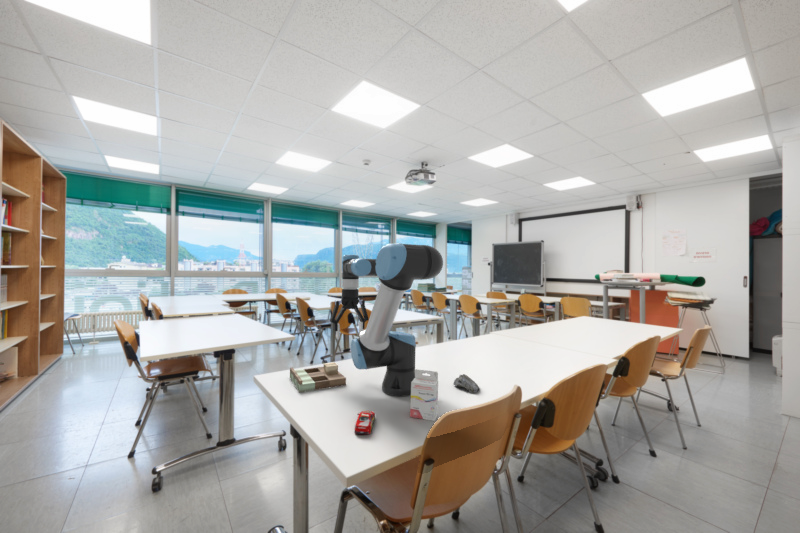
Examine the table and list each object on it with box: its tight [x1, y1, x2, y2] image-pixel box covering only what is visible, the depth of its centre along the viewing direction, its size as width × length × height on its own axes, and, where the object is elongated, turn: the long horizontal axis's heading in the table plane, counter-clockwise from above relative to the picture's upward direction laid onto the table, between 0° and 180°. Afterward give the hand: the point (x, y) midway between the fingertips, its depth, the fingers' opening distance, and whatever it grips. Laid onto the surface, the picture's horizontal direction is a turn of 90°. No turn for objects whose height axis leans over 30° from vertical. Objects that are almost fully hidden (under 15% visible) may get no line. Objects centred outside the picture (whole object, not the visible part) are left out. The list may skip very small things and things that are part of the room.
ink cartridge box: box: [409, 368, 439, 422], centre depth 109 cm, size 9×5×15 cm, turn 73°
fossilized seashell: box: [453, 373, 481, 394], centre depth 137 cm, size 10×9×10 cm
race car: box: [354, 410, 376, 435], centre depth 102 cm, size 13×5×4 cm, turn 177°
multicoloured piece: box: [289, 366, 347, 393], centre depth 142 cm, size 20×19×4 cm
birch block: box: [323, 362, 339, 375], centre depth 145 cm, size 5×5×4 cm
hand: (349, 337), depth 149 cm, fingers open, 10 cm apart
